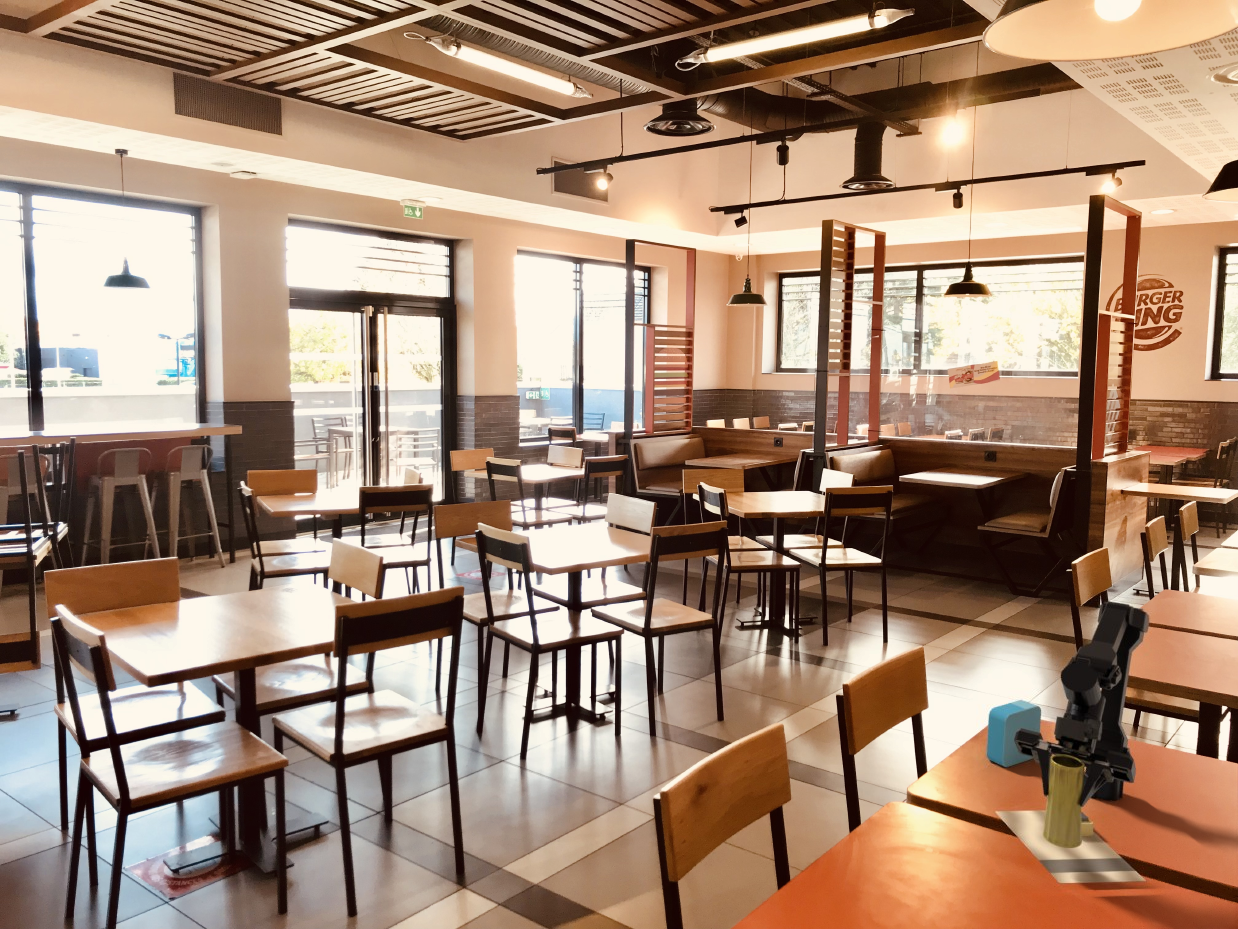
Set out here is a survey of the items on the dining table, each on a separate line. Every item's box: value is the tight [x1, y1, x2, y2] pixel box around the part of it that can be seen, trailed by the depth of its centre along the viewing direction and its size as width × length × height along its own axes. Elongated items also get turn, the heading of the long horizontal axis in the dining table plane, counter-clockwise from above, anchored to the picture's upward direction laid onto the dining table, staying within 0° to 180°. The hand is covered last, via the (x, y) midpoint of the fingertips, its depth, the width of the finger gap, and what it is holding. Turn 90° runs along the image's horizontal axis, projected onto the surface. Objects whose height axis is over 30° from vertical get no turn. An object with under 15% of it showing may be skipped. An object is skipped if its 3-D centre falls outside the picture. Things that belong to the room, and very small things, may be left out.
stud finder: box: [1081, 811, 1094, 836], centre depth 174 cm, size 7×4×3 cm, turn 3°
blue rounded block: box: [986, 699, 1042, 768], centre depth 203 cm, size 12×4×12 cm, turn 120°
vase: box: [1043, 755, 1086, 848], centre depth 159 cm, size 6×6×14 cm
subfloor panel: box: [995, 809, 1147, 884], centre depth 168 cm, size 15×24×1 cm, turn 3°
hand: (1062, 800), depth 158 cm, fingers closed on vase, 5 cm apart
